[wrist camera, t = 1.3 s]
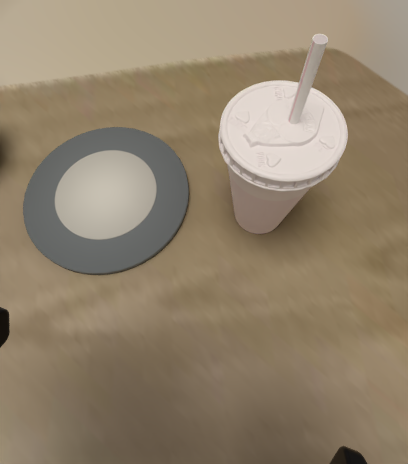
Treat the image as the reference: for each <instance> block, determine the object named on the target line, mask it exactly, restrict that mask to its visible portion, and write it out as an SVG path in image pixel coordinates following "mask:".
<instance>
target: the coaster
mask: <svg viewBox="0 0 408 464" xmlns="http://www.w3.org/2000/svg"><path fill="white" fill-rule="evenodd" d="M188 199H189V189H188V181H187V176H186V172H185V169H184V167H183V164H182V163H181V161H180V159H179V157H178V156H177V155H176V153H175V152H174V151H173V150H172V149H171V148H170V147H169V146H168V145H167V144H166V143H164V142H163V141H162V140H160V139H159V138H157V137H155V136H153V135H151V134H149V133H146V132H144V131H140V130H136V129H131V128H122V127H112V128H102V129H97V130H93V131H89V132H86V133H83V134H81V135H78V136H76V137H74V138H72V139H70V140H68V141H66V142H65V143H63V144H62V145H60V146H59V147H57V148H56V149H55V150H54V151H52V152H51V153H50V154H49V155H48V156H47V157H46V158H45V159H44V160H43V161H42V163H41V164H40V165H39V166H38V168H37V169H36V171H35V172H34V174H33V175H32V178H31V180H30V182H29V184H28V187H27V190H26V193H25V198H24V204H23V215H24V222H25V226H26V229H27V232H28V234H29V236H30V238H31V240H32V242H33V243H34V245H35V246H36V247H37V249H38V250H39V251H40V252H41V253H42V254H43V255H44V256H46V257H47V258H48V259H50V260H51V261H53V262H54V263H56V264H58V265H60V266H61V267H63V268H65V269H68V270H71V271H74V272H78V273H83V274H91V275H104V274H113V273H118V272H122V271H125V270H128V269H131V268H134V267H136V266H138V265H140V264H142V263H144V262H146V261H147V260H149V259H151V258H152V257H154V256H155V255H156V254H157V253H159V252H160V251H161V250H162V249H163V248H164V247H165V246H166V245H167V244H168V243H169V242H170V241H171V240H172V238H173V237H174V236H175V234H176V233H177V231H178V230H179V228H180V226H181V224H182V222H183V220H184V217H185V214H186V211H187V206H188Z"/></svg>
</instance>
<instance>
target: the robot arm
mask: <svg viewBox="0 0 408 464" xmlns="http://www.w3.org/2000/svg"><path fill="white" fill-rule="evenodd" d="M8 336H9V312H8V311H7V310H6V309H4V308H1V307H0V347H1V346H2V345H3V344H4V343H5V341H6V340H7V338H8ZM330 464H367V462H366V460H365V459H364V457H363V456H362V455H361V453H359V452H358V451H355V450H353V449H350V448H348V447H345V446H342V447H340V448H339V449H338V451H337V453H336V454H335V456H334V457H333V459H332V461H331V462H330Z"/></svg>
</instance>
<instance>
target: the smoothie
mask: <svg viewBox="0 0 408 464" xmlns="http://www.w3.org/2000/svg"><path fill="white" fill-rule="evenodd" d="M327 41H328V38H327V37H326V36H325V35H323V34H317V35H315V36H313V39H312V42H311V45H310V49H309V52H308V55H307V58H306V62H305V65H304V68H303V71H302V75H301V78H300V81H299V83H297V82H291V81H268V82H262V83H258V84H255V85H252V86H250V87H248V88H246V89H244V90H242V91H241V92H239V93H238V94H237V95H236V96H234V97H233V98H232V99H231V100H230V102H229V103H228V104H227V106H226V107H225V109H224V111H223V114H222V117H221V122H220V130H219V135H218V137H219V148H220V151H221V153H222V155H223V158H224V160H225V162H226V163H227V165H228V171H229V178H230V185H231V193H232V200H233V207H234V214H235V218H236V221H237V222H238V224H239V225H240V226H241V227H242V228H243V229H244V230H246V231H248V232H250V233H254V234H264V233H268V232H270V231H272V230H274V229H275V228H276V227H277V226H278V225H279V224H280V222H281V221H282V220H283V219H284V218H285V217H286V216H287V214H288V213H289V212H290V211H291V210H292V209H293V207H294V206H295V205H296V204H297V203H298V202H299V200H300V199H301V198H302V197H303V196H304V195H305V194H306V192H307V191H308V190H309V189H310V188H311V187H312V186H314V185H316V184H317V183H319V182H320V181H322V180H324V179H325V178H327V177H328V176H329V175H330V173H331V172H332V171H333V170H334V169H335V168H336V166H337V164H338V162H339V159H340V157H341V156H342V154H343V152H344V150H345V147H346V144H347V137H348V132H347V126H346V122H345V119H344V117H343V115H342V113H341V111H340V110H339V108H338V107H337V106H336V104H335V103H334V102H333V101H332V100H331V99H329V98H328V97H327V96H326V95H324V94H323V93H321V92H320V91H318V90H316V89H314V88H312V87H311V86H312V84H313V81H314V78H315V75H316V72H317V70H318V67H319V64H320V61H321V58H322V55H323V53H324V50H325V47H326V44H327Z"/></svg>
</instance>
